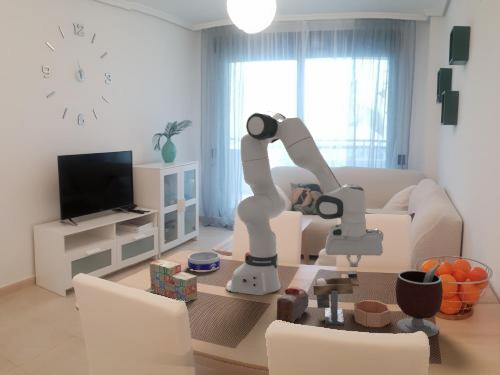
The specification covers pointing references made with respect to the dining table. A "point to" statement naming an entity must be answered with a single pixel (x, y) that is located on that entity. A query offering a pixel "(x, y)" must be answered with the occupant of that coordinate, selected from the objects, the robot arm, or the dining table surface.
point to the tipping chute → (335, 287)
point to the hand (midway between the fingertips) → (353, 266)
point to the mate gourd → (419, 299)
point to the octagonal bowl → (371, 313)
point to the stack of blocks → (172, 280)
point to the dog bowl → (203, 260)
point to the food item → (292, 304)
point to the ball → (321, 282)
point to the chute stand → (334, 311)
